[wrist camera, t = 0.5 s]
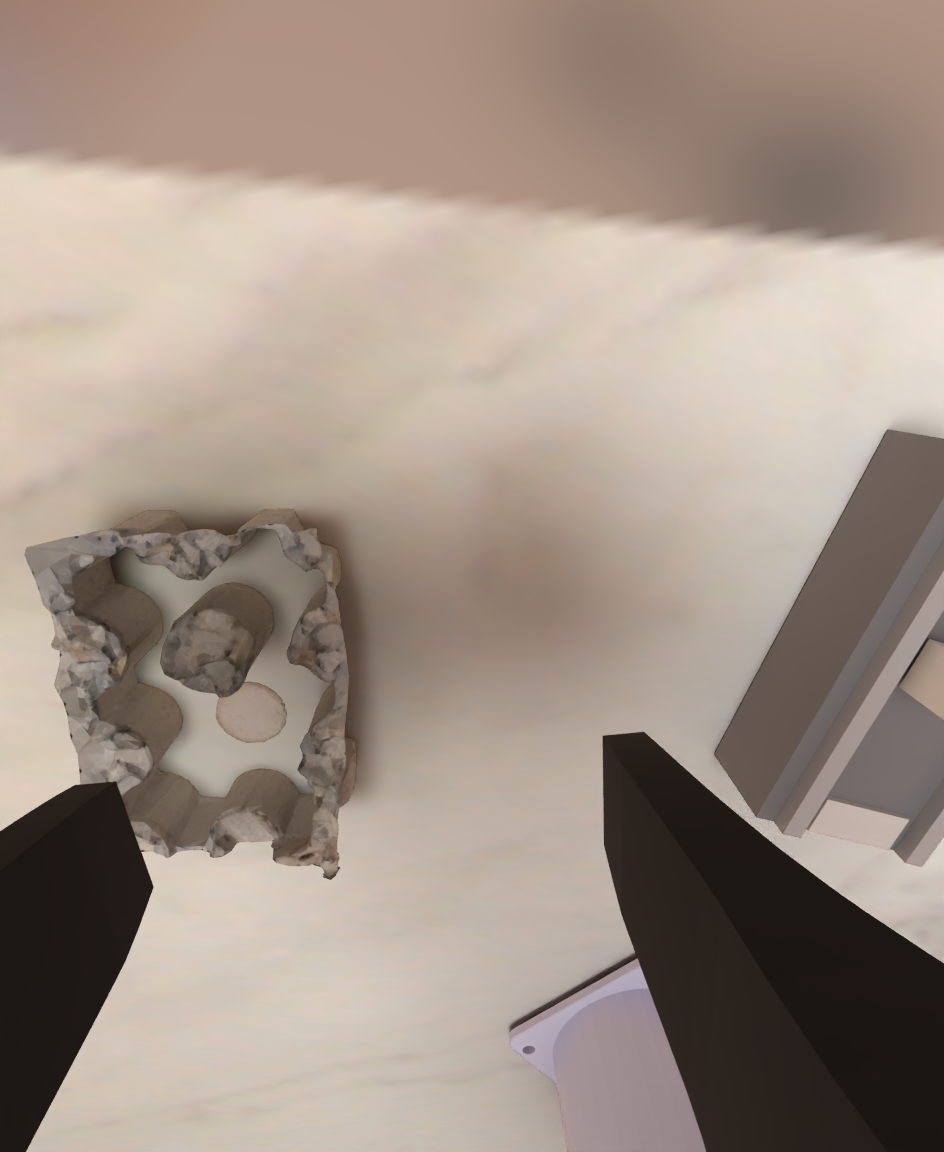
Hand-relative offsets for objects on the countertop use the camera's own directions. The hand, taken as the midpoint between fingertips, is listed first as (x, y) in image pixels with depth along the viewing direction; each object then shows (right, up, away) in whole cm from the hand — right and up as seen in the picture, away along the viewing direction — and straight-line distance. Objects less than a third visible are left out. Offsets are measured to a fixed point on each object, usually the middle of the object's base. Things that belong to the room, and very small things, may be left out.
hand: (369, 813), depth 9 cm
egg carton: (-6, +1, +10) cm, 12 cm away
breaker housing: (+14, +2, +10) cm, 18 cm away
